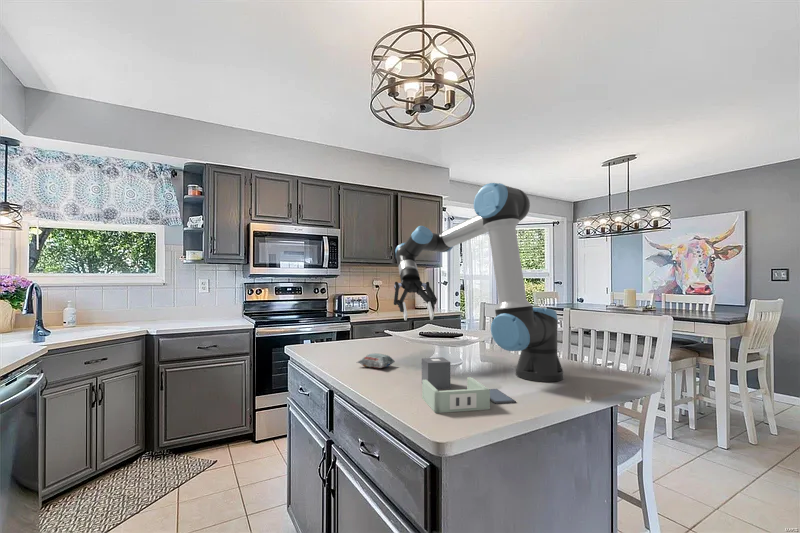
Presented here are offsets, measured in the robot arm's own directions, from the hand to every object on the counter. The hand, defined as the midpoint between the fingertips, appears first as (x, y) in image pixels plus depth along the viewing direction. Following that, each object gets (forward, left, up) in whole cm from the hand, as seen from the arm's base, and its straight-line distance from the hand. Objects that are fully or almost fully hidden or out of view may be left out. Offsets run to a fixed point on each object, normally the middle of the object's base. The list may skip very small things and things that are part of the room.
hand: (419, 317), depth 139 cm
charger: (-3, +20, -19) cm, 28 cm away
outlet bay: (-6, +36, -19) cm, 41 cm away
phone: (-19, +31, -19) cm, 41 cm away
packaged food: (+16, -6, -19) cm, 25 cm away
